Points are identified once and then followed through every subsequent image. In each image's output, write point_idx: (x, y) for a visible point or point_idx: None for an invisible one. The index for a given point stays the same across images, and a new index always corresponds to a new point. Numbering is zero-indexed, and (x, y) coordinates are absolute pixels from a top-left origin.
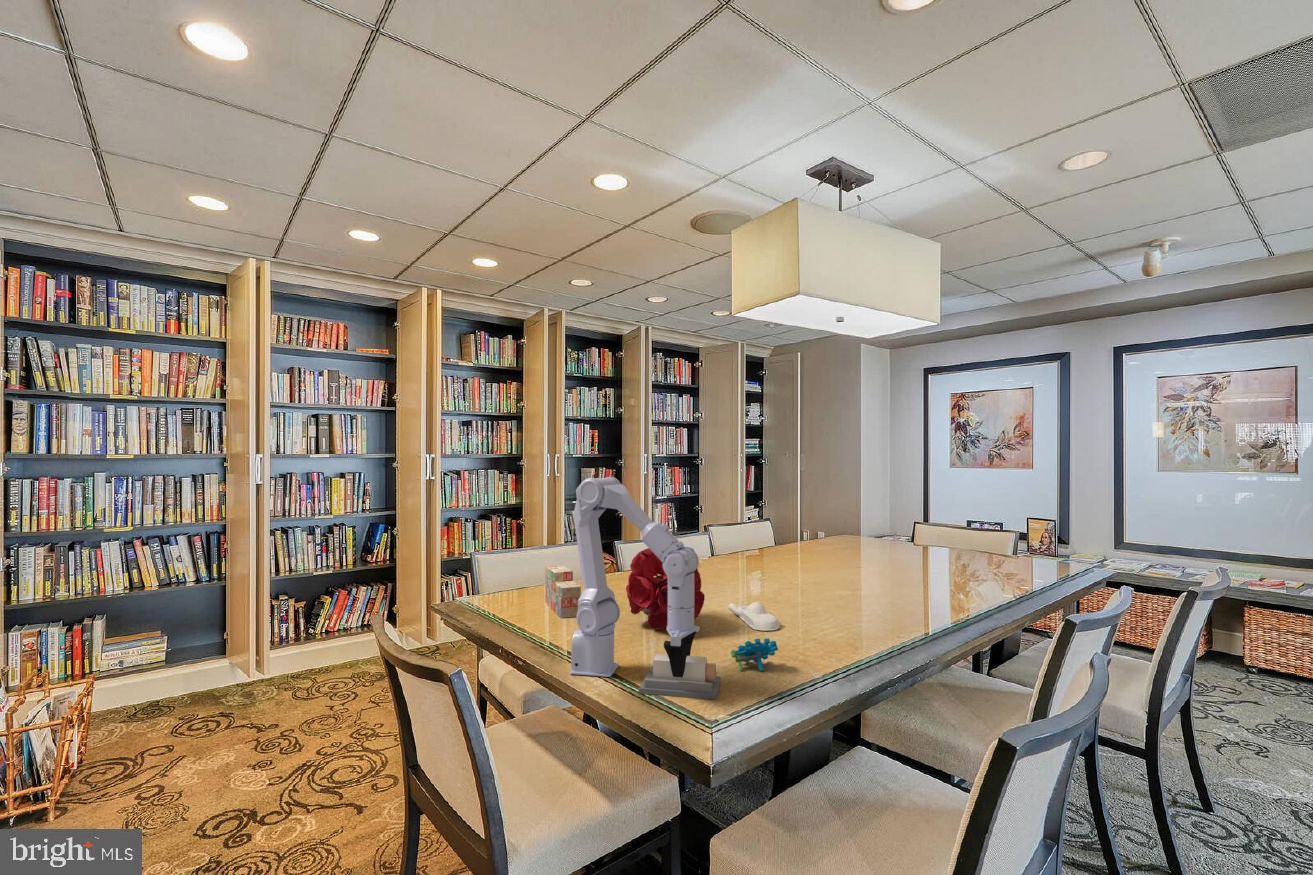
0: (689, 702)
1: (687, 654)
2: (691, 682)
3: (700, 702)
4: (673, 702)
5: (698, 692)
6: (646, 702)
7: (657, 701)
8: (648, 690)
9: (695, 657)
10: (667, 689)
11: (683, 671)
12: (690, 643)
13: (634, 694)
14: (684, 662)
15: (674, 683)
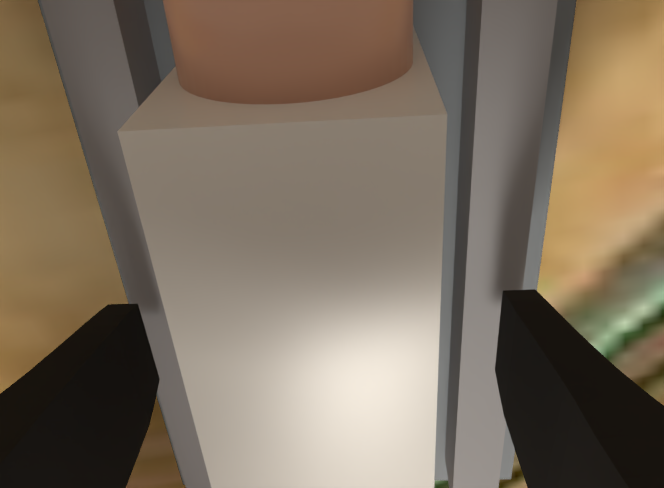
0: (650, 116)
1: (95, 384)
2: (504, 178)
3: (651, 14)
4: (649, 237)
5: (551, 69)
6: (648, 392)
7: (630, 338)
8: None
9: (212, 287)
10: None
11: (567, 323)
12: (2, 483)
13: (519, 467)
14: (653, 400)
15: None
